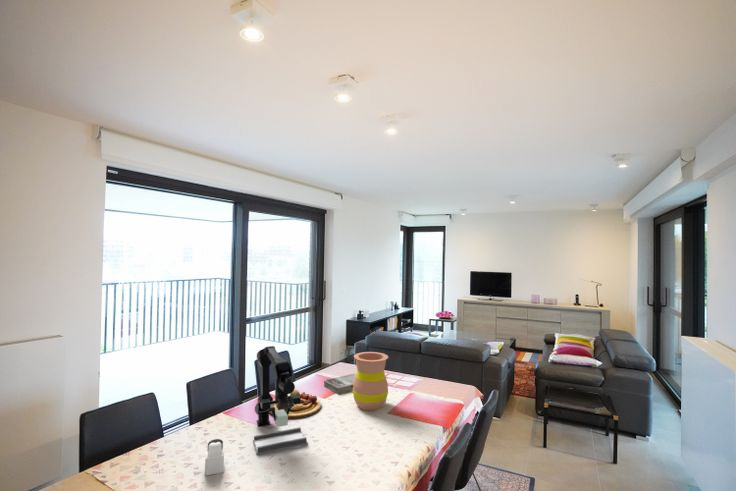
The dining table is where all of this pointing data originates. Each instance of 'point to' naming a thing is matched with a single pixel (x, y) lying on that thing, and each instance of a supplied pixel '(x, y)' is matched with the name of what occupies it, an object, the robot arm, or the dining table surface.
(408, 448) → the dining table surface
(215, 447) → the white handled block
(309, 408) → the wooden plate with food
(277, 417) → the block
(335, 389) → the hard drive
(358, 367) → the vase
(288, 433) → the rail board
